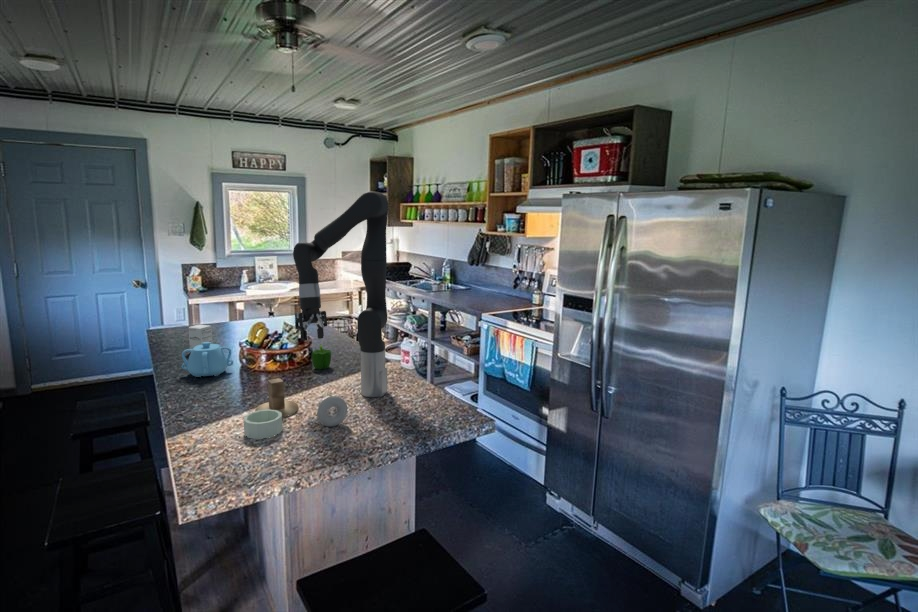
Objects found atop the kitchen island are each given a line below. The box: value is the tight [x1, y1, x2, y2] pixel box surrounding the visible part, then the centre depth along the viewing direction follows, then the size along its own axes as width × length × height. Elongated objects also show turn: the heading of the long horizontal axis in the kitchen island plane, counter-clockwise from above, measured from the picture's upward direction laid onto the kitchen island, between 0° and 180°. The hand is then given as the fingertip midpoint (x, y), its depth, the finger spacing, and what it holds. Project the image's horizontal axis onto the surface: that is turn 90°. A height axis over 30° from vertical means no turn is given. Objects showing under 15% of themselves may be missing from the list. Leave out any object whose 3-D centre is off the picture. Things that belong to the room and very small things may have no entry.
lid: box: [254, 377, 299, 418], centre depth 173 cm, size 14×14×11 cm
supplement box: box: [188, 323, 214, 349], centre depth 242 cm, size 7×7×13 cm
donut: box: [316, 395, 349, 428], centre depth 162 cm, size 10×4×10 cm, turn 125°
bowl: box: [243, 409, 283, 440], centre depth 158 cm, size 11×11×5 cm
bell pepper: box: [311, 344, 332, 370], centre depth 221 cm, size 8×8×10 cm
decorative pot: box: [181, 342, 234, 378], centre depth 210 cm, size 16×16×14 cm
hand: (312, 339), depth 188 cm, fingers open, 8 cm apart
